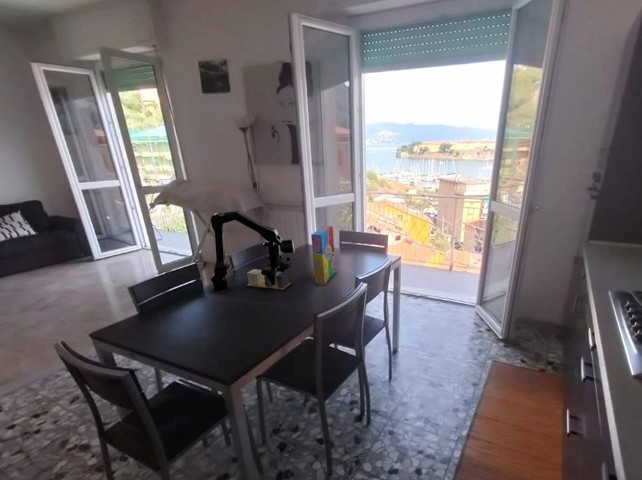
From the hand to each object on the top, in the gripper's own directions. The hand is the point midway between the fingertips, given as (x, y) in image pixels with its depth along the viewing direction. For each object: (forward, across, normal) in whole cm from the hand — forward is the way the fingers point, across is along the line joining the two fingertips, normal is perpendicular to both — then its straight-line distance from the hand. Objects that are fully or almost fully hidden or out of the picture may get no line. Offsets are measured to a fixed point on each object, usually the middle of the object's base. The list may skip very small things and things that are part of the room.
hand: (277, 282), depth 186 cm
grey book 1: (+2, 0, +3) cm, 4 cm away
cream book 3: (+2, 0, 0) cm, 2 cm away
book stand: (+3, 0, +6) cm, 6 cm away
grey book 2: (+2, 0, -3) cm, 4 cm away
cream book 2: (+2, 0, +11) cm, 12 cm away
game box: (+3, +18, -19) cm, 27 cm away
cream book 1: (+2, 0, +15) cm, 15 cm away
